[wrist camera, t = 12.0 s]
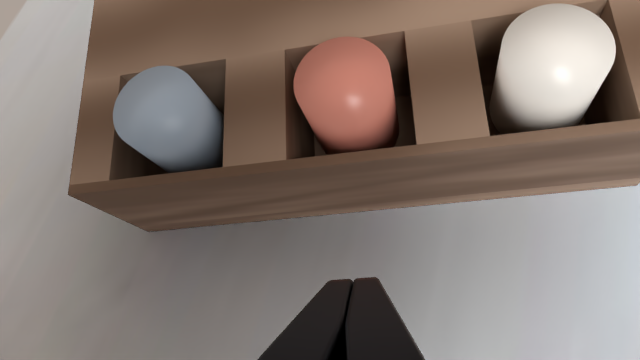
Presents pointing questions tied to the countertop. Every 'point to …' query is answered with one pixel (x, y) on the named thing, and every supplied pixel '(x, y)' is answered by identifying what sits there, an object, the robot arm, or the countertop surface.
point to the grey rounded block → (170, 120)
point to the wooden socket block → (296, 133)
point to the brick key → (348, 96)
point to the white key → (550, 68)
